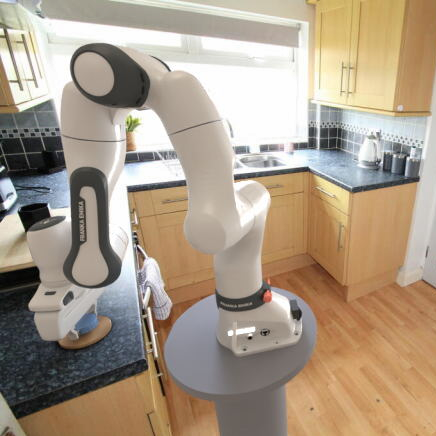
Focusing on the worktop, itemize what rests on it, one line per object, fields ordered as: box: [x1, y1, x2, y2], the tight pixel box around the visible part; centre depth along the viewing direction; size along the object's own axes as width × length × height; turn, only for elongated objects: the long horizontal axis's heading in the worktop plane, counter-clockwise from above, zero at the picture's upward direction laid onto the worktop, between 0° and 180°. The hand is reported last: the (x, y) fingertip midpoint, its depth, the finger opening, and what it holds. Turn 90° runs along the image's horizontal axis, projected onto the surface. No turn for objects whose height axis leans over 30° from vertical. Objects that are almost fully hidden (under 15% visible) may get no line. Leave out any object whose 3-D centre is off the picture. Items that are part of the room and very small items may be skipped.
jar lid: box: [74, 312, 98, 335], centre depth 81 cm, size 6×6×2 cm
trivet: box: [57, 315, 113, 350], centre depth 82 cm, size 11×11×1 cm
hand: (84, 327), depth 81 cm, fingers closed on jar lid, 6 cm apart
